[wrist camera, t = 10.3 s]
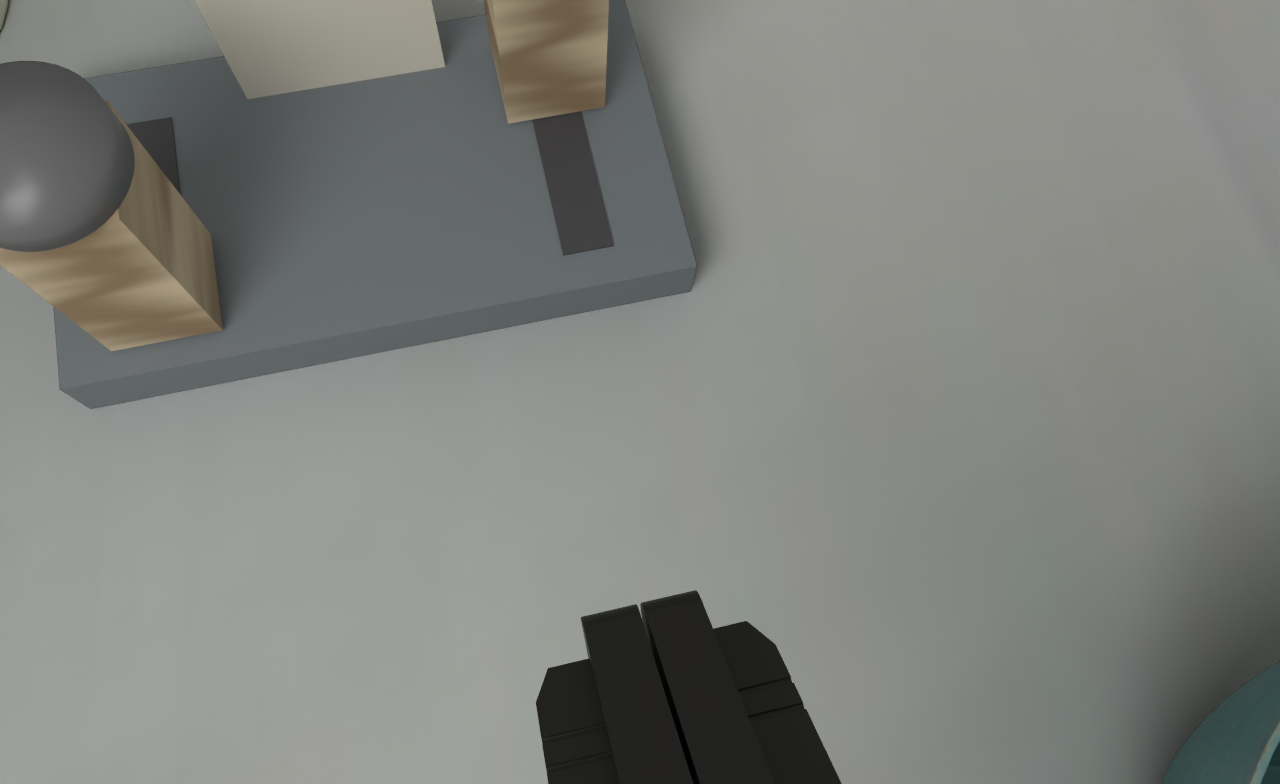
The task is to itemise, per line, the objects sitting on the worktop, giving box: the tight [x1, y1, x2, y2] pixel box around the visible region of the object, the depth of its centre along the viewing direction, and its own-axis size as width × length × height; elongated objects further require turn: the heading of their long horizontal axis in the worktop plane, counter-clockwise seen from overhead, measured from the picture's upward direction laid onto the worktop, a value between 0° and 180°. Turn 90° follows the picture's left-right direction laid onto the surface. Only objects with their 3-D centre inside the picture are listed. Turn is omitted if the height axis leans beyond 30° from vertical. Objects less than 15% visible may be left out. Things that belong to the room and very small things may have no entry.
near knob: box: [0, 61, 223, 351], centre depth 34 cm, size 5×5×11 cm
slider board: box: [53, 0, 697, 409], centre depth 39 cm, size 24×13×10 cm, turn 103°
